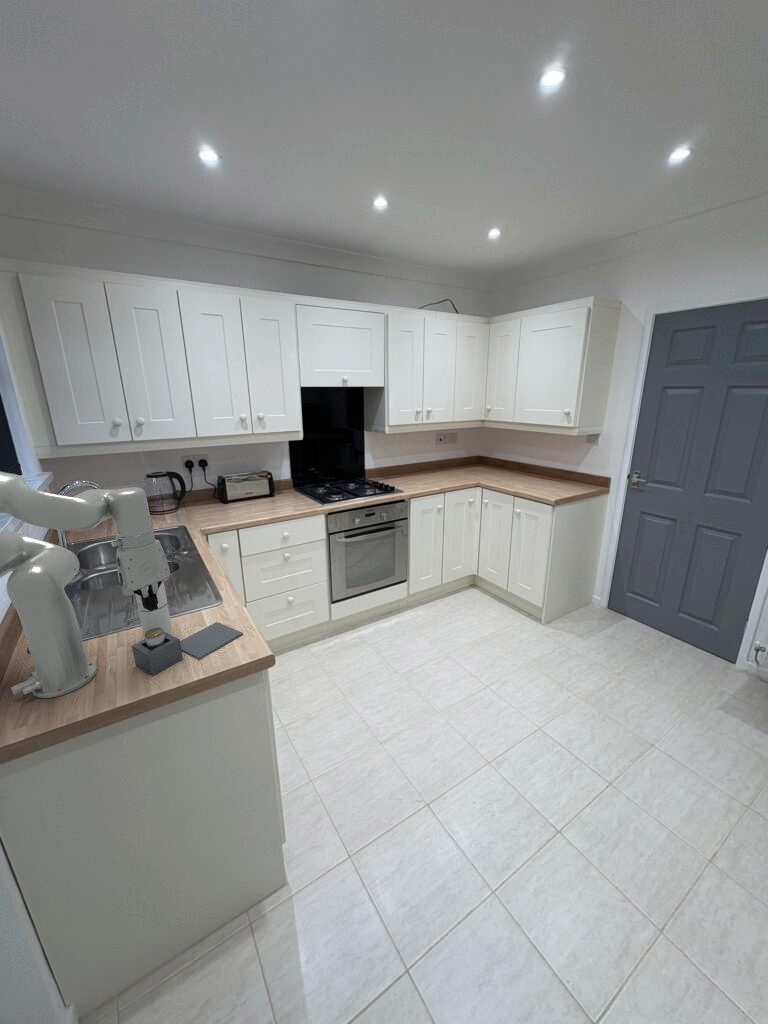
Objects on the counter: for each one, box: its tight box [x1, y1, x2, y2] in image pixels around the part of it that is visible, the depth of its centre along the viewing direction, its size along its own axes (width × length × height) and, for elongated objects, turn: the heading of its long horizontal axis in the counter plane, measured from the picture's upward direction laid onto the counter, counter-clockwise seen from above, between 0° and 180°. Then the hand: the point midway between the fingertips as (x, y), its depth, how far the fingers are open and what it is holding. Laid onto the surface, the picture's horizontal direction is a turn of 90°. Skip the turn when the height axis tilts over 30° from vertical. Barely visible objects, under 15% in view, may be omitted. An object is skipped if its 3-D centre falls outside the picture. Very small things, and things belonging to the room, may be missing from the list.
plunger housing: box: [131, 631, 184, 677], centre depth 104 cm, size 8×8×6 cm
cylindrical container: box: [134, 582, 174, 640], centre depth 112 cm, size 7×7×25 cm
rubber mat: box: [180, 621, 244, 661], centre depth 114 cm, size 14×12×1 cm
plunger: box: [143, 628, 166, 650], centre depth 103 cm, size 4×4×6 cm
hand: (151, 608), depth 101 cm, fingers closed
